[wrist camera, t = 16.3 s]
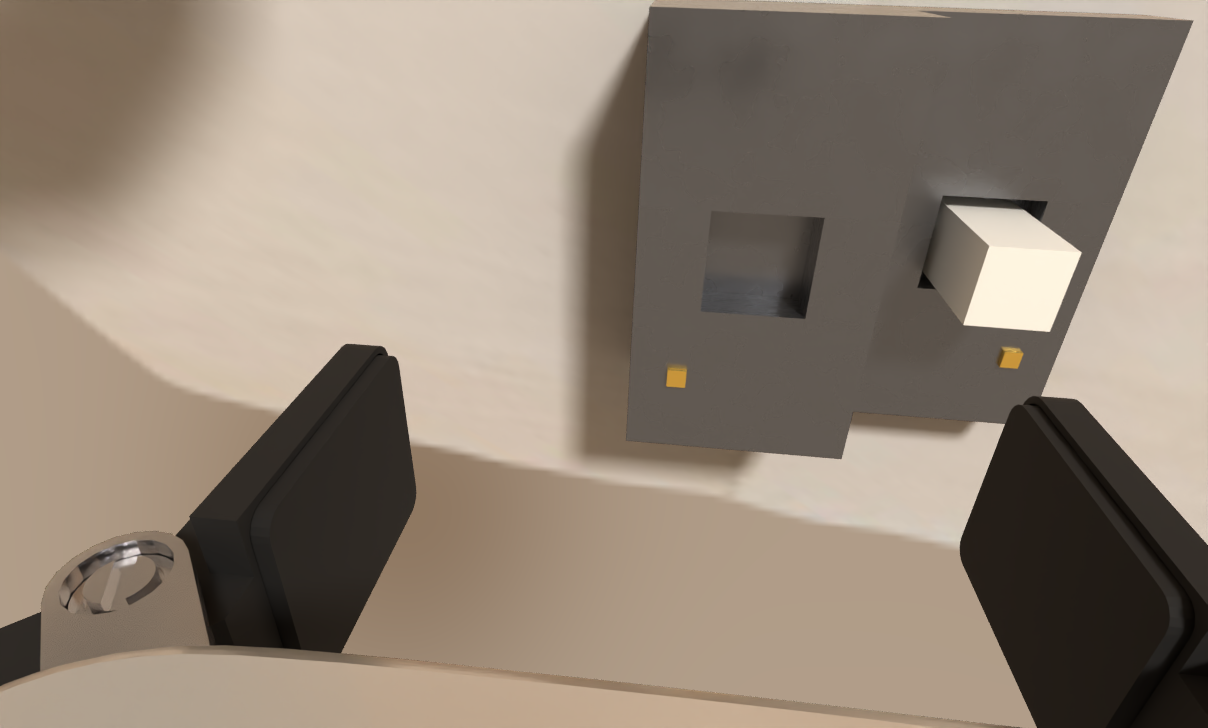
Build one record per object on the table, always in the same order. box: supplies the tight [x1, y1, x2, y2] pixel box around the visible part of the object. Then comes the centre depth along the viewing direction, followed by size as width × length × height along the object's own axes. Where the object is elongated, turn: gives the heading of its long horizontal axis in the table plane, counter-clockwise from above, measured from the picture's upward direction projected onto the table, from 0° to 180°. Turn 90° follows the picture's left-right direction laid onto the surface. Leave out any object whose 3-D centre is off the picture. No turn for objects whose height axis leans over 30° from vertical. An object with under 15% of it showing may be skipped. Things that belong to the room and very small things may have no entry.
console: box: [626, 0, 1193, 459], centre depth 37 cm, size 22×24×9 cm
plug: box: [922, 196, 1082, 332], centre depth 36 cm, size 4×4×8 cm
